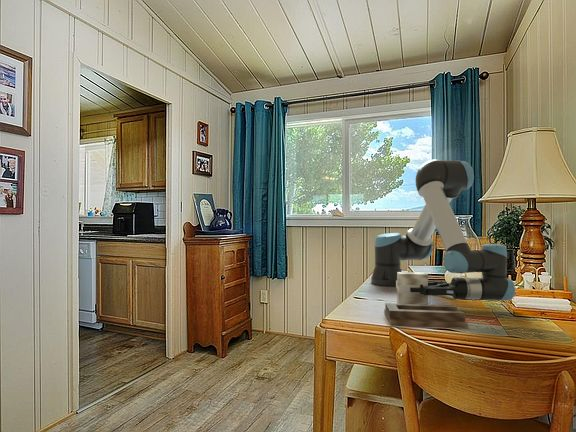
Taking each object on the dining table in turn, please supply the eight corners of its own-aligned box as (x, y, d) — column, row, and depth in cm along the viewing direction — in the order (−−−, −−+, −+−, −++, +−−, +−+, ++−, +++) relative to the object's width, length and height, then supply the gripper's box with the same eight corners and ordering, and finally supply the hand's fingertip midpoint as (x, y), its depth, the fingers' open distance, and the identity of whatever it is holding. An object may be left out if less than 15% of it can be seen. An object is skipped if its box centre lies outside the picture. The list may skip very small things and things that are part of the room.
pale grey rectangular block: (425, 305, 135) (425, 272, 135) (427, 308, 131) (428, 274, 131) (396, 304, 136) (397, 272, 136) (398, 307, 133) (398, 273, 132)
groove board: (452, 314, 123) (452, 303, 123) (467, 328, 109) (467, 315, 109) (384, 312, 126) (384, 301, 126) (390, 325, 112) (390, 312, 112)
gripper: (475, 306, 122) (403, 304, 124) (455, 292, 141) (393, 291, 144) (476, 283, 121) (403, 281, 124) (455, 273, 141) (393, 271, 144)
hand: (398, 286), depth 134 cm, fingers open, 7 cm apart
